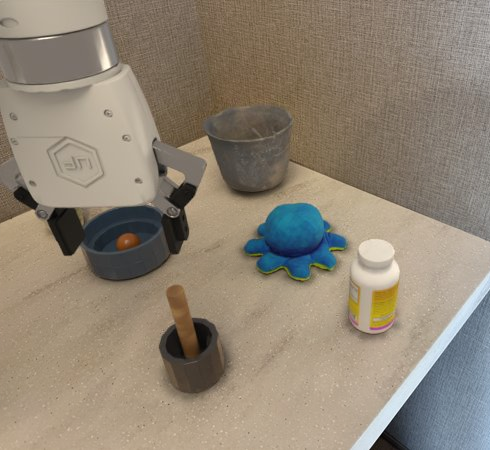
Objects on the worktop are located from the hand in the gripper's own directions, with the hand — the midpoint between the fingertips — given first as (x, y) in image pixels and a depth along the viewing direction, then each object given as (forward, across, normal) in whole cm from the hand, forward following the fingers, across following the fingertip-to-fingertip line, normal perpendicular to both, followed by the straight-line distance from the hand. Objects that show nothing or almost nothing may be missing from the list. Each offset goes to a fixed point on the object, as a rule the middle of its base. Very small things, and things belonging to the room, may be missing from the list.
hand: (127, 245), depth 41 cm
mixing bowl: (+24, -16, +28) cm, 40 cm away
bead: (+22, -15, +28) cm, 38 cm away
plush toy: (+25, +14, +29) cm, 41 cm away
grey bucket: (+25, +4, +50) cm, 56 cm away
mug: (+25, -30, +35) cm, 52 cm away
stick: (+24, +1, +4) cm, 24 cm away
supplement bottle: (+25, +25, +13) cm, 37 cm away
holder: (+24, +1, +4) cm, 25 cm away
